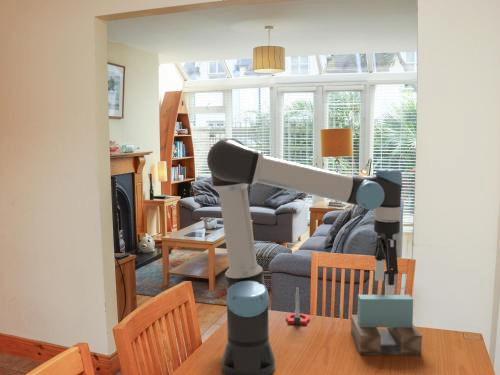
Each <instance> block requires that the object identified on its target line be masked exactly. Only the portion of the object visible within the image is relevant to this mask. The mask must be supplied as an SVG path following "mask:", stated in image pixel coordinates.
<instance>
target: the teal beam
mask: <svg viewBox="0 0 500 375" xmlns="http://www.w3.org/2000/svg"><path fill="white" fill-rule="evenodd" d="M413 314H414V299H413V297H412V296H411V295H410V294H395V295H385V294H357V315H358V324H359V326H360V327H376V328H388V327H412V323H413V318H414V315H413ZM413 324H414V323H413Z"/></svg>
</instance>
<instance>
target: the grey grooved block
mask: <svg viewBox="0 0 500 375" xmlns="http://www.w3.org/2000/svg"><path fill="white" fill-rule="evenodd" d="M350 333H351V336H352V338H353V340H354V343H355V346H356V349H357V350H358V352H359V355H360V356H363V355H364V356H367V355H368V356H369V355H371V356H422V343H423V342H422V340H423V336H422V334H421V332H420V331H419V330H418V328H417V327H416V325H414V323H412V327H387V328H386V329H384V328H382V329H381V328H380V329H379V328H378V327H360V326H359V324H358V314H351V315H350Z"/></svg>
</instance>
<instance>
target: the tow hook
mask: <svg viewBox="0 0 500 375" xmlns="http://www.w3.org/2000/svg"><path fill="white" fill-rule="evenodd" d="M295 290H296V291H295V292H296V293H295V309H294V312H293V313H289V314H286V315H285V320H286V321H287V325H294V326H295V325H297V326H308V322H310V320H311V319H310V318H311V317H310V316H309V315H308V314H306V313H300V312H301V311H300V293H299V291H300V290H299V287H296V288H295ZM306 315H307V316H306ZM301 318H303V319H301Z"/></svg>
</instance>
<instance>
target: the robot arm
mask: <svg viewBox="0 0 500 375" xmlns="http://www.w3.org/2000/svg"><path fill="white" fill-rule="evenodd" d="M206 161H207V168H208V170H209V171H210V174H211V176H210V177H211V182H212V187H213V188H214V189H215V190H217V191H218V196H219V203H220V210H221V218H222V225H223V231H224V239H225V246H226V253H227V261H228V268H227V270H226V271H225V273H224V275H225V282H226V289H227V290H226V291H227V292H226V297H225V303H226V322H227V323H226V325H227V328H226V329H227V332H226V333H227V343H226V344H225V349H224V352H223V355H222V357H221V370H222V373H223V374H225V375H271V374H272V373H274V371H275V370H276V369H275V368H276V358H275V355H274V353H273V350H272V345H271V343H270V340H269V339H270V338H269V336H270V334H269V330H270V329H269V327H270V326H269V304H270V303H269V302H270V297H269V292H268V288H267V287H266V284H265V277H264V270H263V267H262V266H261V265H259V264H258V262H257V255H256V247H255V239H254V231H253V230H254V229H253V224H252V214H251V208H250V202H249V191H248V186H249V185H250V186H253V185H255V184H256V183H257V184H263V185H265V186H271V187H274V188H281V189H283V190H284V189H285V190H289V191H293V192H297V193H302V194H306V195H311V196H316V197H319V198H324V199H328V200H331V201H332V200H333V201H337V202H341V203H346V204H350V205H353V206H359V207H361V208H362V209H364V210H374V214H373V215H374V221H373V224H374V226H373V230H374V232H375V233H376V235H377V236H376V241H375V247H374V252H373V256H374V259H375V261H374V262H375V264H374V265H375V267H374V268H375V269H374V281H378V282H379V281H380V282H384V280H385V282H384V295H396V294H395V293H396V292H395V291H396V275H398V274H399V268H398V267H399V266H398V255H397V253H398V252H397V240H396V239H394V235H398V234H400V232H401V231H400V229H401V228H400V227H401V222H400V219H401V213H402V212H403V210H402V208H401V206H402V205H401V204H402V202H401V201H402V190H403V189H402V186H403V175H402V171H401V170H399V169H397V168H378V169H376V172H375V174H373V175H349V174H344V173H339V172H336V171H331V170H327V169H322V168H319V167H315V166H310V165H306V164H301V163H297V162H293V161H288V160H285V159H280V158H275V157H272V156H269V155H264V154H263V153H262V152H261V150H257V149H254V148H250V147H248V146H246V145H245V144H244V143H243V142H241V141H239V140H237V139H235V138H227V137H226V138H223V139H219V140H218V141H216V143H214V144H213V145H212V146H211V148H210V149H209V151H208V153H207V158H206ZM385 269H386V270H385ZM384 277H385V278H384Z"/></svg>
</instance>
